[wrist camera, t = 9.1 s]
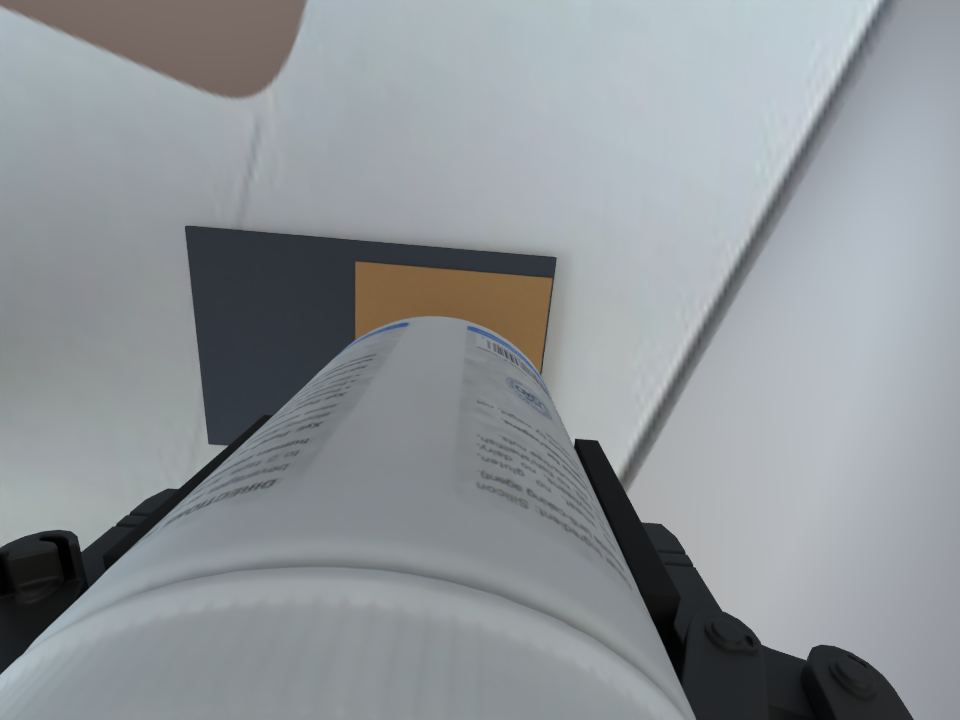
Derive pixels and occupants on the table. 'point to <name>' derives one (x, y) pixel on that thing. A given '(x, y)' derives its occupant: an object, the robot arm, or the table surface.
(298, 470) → the supplement tub
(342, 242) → the desk mat
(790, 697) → the robot arm
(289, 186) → the table surface
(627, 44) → the table surface
